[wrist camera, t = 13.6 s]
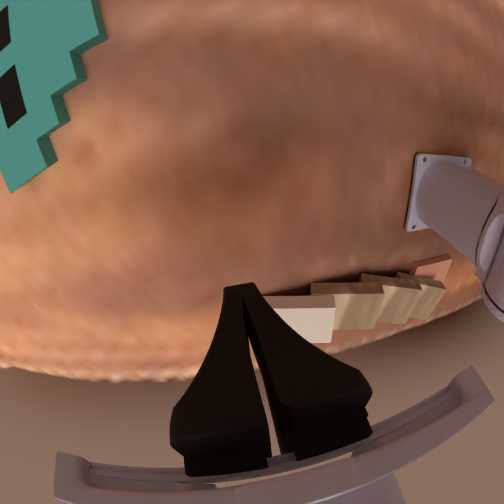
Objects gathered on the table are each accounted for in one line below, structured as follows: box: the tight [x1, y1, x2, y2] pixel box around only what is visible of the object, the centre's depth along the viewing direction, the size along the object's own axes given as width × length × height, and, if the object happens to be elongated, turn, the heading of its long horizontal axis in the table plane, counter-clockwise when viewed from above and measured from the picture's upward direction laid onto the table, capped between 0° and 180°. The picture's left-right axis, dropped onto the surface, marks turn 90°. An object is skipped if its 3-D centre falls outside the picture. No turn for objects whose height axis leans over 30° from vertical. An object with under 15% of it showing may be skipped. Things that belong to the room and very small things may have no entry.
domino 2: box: [358, 273, 423, 324], centre depth 26 cm, size 2×5×7 cm
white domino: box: [263, 295, 336, 343], centre depth 25 cm, size 2×5×7 cm
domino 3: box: [409, 255, 453, 283], centre depth 29 cm, size 2×5×7 cm
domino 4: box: [395, 272, 446, 320], centre depth 27 cm, size 2×5×7 cm
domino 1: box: [310, 282, 385, 330], centre depth 25 cm, size 2×5×7 cm
